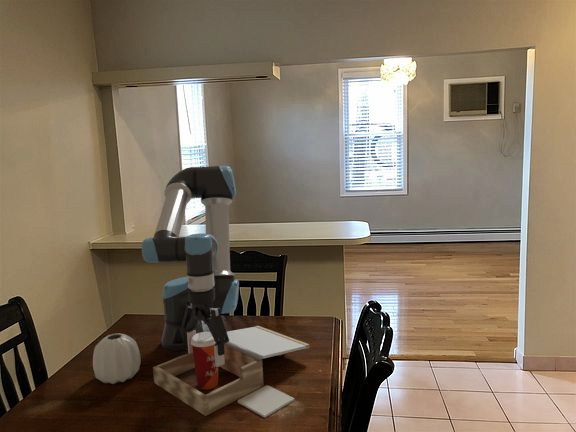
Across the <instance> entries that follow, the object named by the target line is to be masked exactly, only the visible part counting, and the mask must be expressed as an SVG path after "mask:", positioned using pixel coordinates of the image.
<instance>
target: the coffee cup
mask: <svg viewBox="0 0 576 432" xmlns="http://www.w3.org/2000/svg"><path fill="white" fill-rule="evenodd" d="M218 340H219V339H218ZM214 344H215V341H214V338H213V336H212V334H211V332H210V331H203V332H201V333H197V334H195V335H194V336H193V337H192V340H191V345H192V349H193V356H194V363H195V368H194V369H195V376H196V377H195V378H196V382H197V388H198V389H201V390H206V391H207V390H213V389H214V388H216V387H217V386H218V385H219V367H216V366H215V353H214Z"/></svg>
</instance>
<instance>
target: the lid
mask: <svg viewBox="0 0 576 432" xmlns="http://www.w3.org/2000/svg"><path fill="white" fill-rule="evenodd" d="M226 332H227V335H228V338H229V342H227V343H224V345H225V346H228V347H230V348H232V349H234V350H237V351H239V352H241V353H243V354H246V355H248V356H250V357H253V358H255V359H257V360H262V361H263V360H264V359H267V358H271V357H275V356H277V355H280V354H283V355H285V354H289V353H291V352H296V351H301V350H307V349H310V343H307V342H304V341H301V340H298V339H296V338H293V337H290V336H287V335H285V334H282V333H280V332H277V331H274V330H271V329H269V328H265V327H264V326H260V325H255V326H251V327H244V328H240V329H235V330H228V331H227V330H226ZM284 353H285V354H284Z"/></svg>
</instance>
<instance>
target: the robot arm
mask: <svg viewBox="0 0 576 432" xmlns="http://www.w3.org/2000/svg"><path fill="white" fill-rule="evenodd" d="M164 196H165V198H164V202H163V204H162V205H163V206H162V208H161V211H160V215H159V218H158V222H157V224H156V228H155V231H154V234H153V237H148V238H145V239H143V241H142V243H141V244H142V245H141V254H142V255H141V257H142V258H143V260H144V261H145V262H146V263H154V264H155V263H157V264H158V263H159V264H160V263H161V264H162V263H174V262H175V263H176V262H177V263H178V262H185V264H186V265H185V266H186V275H187V276H183V277H182V276H181V277H179V278H175V279H172V280H169V281H168V282H166V283H165V284H164V285H163V287H162V298H161V299H162V301H163V302H162V304H163V313H164V314H163V315H164V326H163V327H164V328H163V333H162V336H161V347H162V348H163V349H165V350H168V351H173V352H179V351H180V352H183V351H188V353H189V354H191V353H193V349H192V345H191V340H192V337H193V336H194V335H195V334H197V333H201V332H204V330H203V328H202V325H201V322H200V321H202V322H203V323H204V324H205V325H206V326H207V327H208V330H209V332H211V334H212V336H213V338H214V341H215V344H214V353H215V366H216V367H218V368H219V366H221V365H223V364H225V361H224V353H225V351H224V343H227V342H229V338H228V335H227V330H226V326H225V324H224V320H223V317H222V315H224V314H230V313H234V312H235V310H236V309H237V305H238V301H239V290H240V287H239V286H240V281H239V279H236V278H235V277H236V276H235V273H234V272H232V271H231V258H230V257H231V256H230V255H231V253H230V251H231V250H230V249H231V248H230V245H231V244H230V218H229V217H230V213H229V211H230V210H229V206H230V205H231V204H232V203H233V198H235V197H236V196H237V188H236V182H235V177H234V171H233V169H232V168H231V167H230V166H228V165H213V166H212V165H211V166H192V167H191V166H190V167H187V168H184V169H182V170H180V171H179V172H177V173H176V174H174V175H173V176H172V177H171V178H170V180H169V181H168V182H167V184H166V186H165V189H164ZM192 199H200V203H201V204H202V205H203V206H204V209H205V210H204V212H205V214H204V215H205V222H204V224H205V233H193V234H188V235H187V236H180V232H181V228H182V224H183V220H184V217H185V213H186V209H187V205H188V204H189V202H191V200H192ZM221 314H222V315H221ZM199 320H200V321H199ZM218 339H219V340H218ZM188 353H187V354H188Z"/></svg>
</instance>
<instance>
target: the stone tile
mask: <svg viewBox="0 0 576 432" xmlns="http://www.w3.org/2000/svg"><path fill="white" fill-rule="evenodd" d="M294 401H295V397H293V396H290V395H288V394H287V393H285V392H282V391H280V390H279V389H277V388H274V387H273V386H270V385H263V386H262V387H260V388H258V389H256V390H254V391H253V392H251V393H249V394H247V395H245V396H243V397H241V398H239V399H237V404H239V405H241V406H243V407H245V408H247V409H248V410H250V411H252V412H254V413H255V414H257V415H259V416H261V417H262V418H264V419H265V418H267V417H269V416H271V415H273V414H274V413H275V412H278V411H279V410H280V409H283V408H284V407H286V406H287V405H290V404H291V403H293V402H294Z"/></svg>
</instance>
